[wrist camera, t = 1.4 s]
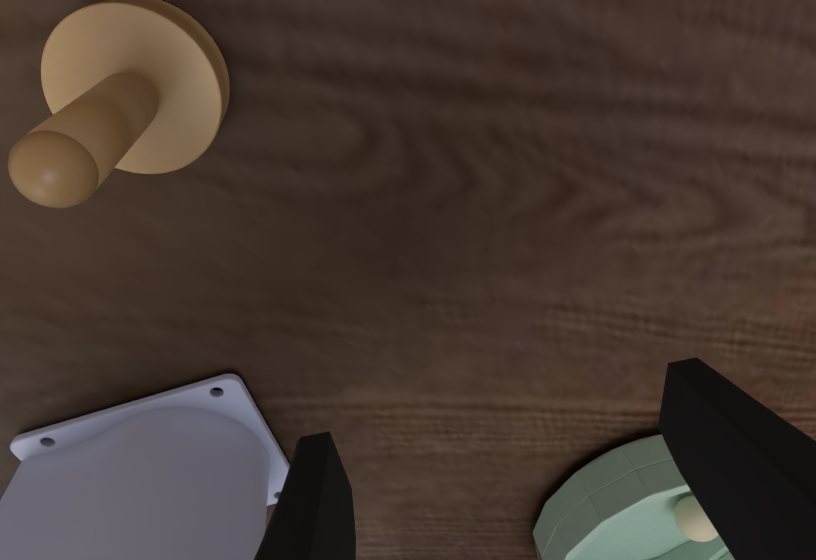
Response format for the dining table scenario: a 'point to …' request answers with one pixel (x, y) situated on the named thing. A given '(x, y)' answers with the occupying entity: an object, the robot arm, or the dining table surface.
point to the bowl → (622, 510)
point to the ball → (693, 520)
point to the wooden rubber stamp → (121, 99)
